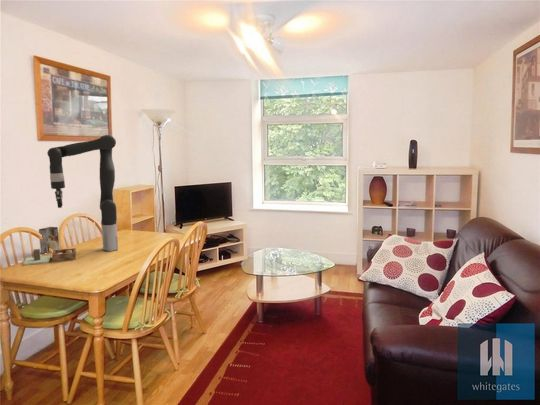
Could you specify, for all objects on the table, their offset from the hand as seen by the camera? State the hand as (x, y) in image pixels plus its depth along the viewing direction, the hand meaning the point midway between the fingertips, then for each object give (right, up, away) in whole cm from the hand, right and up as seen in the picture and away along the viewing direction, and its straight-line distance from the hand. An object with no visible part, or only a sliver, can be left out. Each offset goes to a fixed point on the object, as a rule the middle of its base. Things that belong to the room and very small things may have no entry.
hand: (60, 206), depth 247 cm
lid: (-9, -32, -9) cm, 35 cm away
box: (+4, -32, -3) cm, 32 cm away
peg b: (+3, -32, -6) cm, 32 cm away
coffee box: (-14, -30, +14) cm, 36 cm away
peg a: (+6, -31, 0) cm, 32 cm away
